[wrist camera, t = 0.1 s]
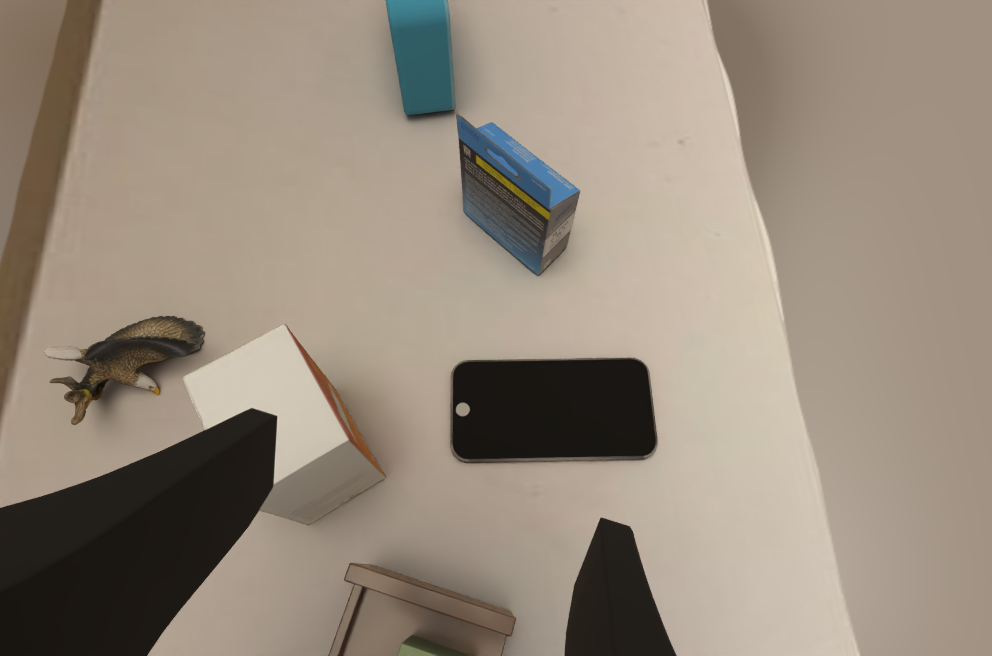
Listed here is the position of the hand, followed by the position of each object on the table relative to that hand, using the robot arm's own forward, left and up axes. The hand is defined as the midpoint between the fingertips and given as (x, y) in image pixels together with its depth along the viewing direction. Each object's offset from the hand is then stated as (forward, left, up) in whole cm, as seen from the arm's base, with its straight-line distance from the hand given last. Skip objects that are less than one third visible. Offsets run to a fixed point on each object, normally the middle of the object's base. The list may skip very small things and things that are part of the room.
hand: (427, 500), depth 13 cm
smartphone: (+11, -3, -32) cm, 34 cm away
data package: (+39, +17, -32) cm, 53 cm away
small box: (+3, +12, -32) cm, 34 cm away
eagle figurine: (+5, +27, -32) cm, 42 cm away
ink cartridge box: (+25, +4, -32) cm, 41 cm away
